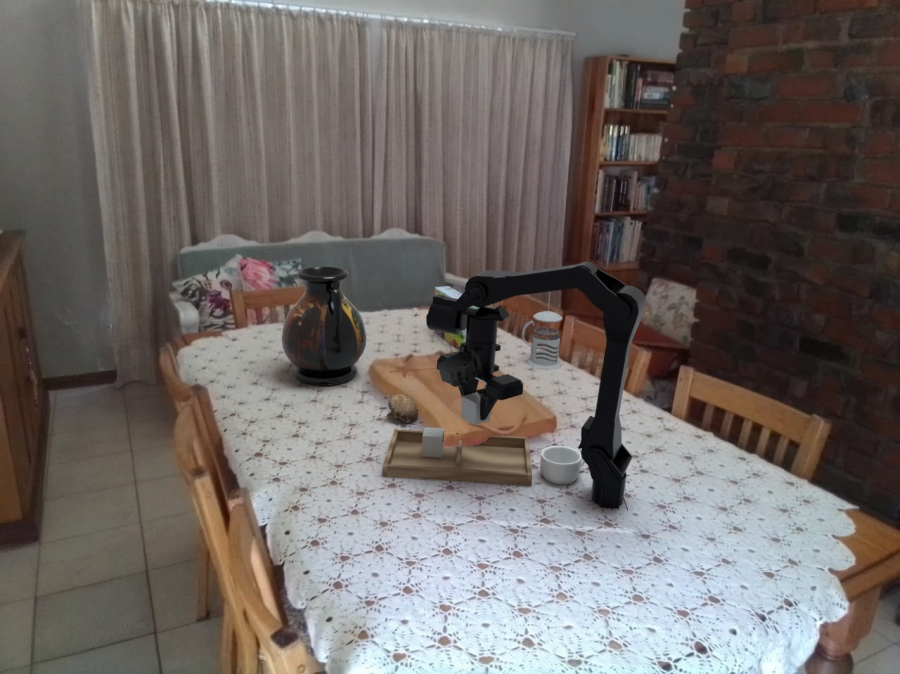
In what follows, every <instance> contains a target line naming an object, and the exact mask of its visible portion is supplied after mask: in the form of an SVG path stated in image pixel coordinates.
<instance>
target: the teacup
mask: <svg viewBox="0 0 900 674" xmlns="http://www.w3.org/2000/svg"><path fill="white" fill-rule="evenodd" d="M585 464H586V463H585V461H584V460H583V459H582V457H581V451H579V450H578V449H575V448H573V447H570V446H565V445H551V446H547V447H545V448H543V449H542V450H541V451H540V472H541V474H542V476H543V478H544V479H545V480H546V481H547V482H550V483H552V484H556V485H568V484H572V483H573V482H575V481H576V480H577V478H578V477H579V473H580V470H581V468H582V467H583V466H584V465H585Z"/></svg>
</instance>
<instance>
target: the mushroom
mask: <svg viewBox="0 0 900 674" xmlns="http://www.w3.org/2000/svg"><path fill="white" fill-rule="evenodd" d="M387 404H388V407H389V409H390V411H388V412H387V414H386V418H387V419H388V420H401V421H402V422H404V423H406V424H413V423H415V422H416V421H418V418H419V413H418V411H419V408H418V409H417V407H418V405H417V404H416V402H415V401H414V400H413V399H411V397H409V396H406V395H405V394H401V393H399V394H395V395H392V396H391V397H390V398H389V399H388V402H387Z"/></svg>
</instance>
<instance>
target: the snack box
mask: <svg viewBox="0 0 900 674" xmlns="http://www.w3.org/2000/svg"><path fill="white" fill-rule="evenodd" d="M438 294H439V295H444V296H446V297H450V298H456V299H458V298H459V297H460V296H461V295H462V294H463V292H462V293H461V292H460V291H458V290H456V289H454V288H453V287H451V286H449V285H445V286H435V287H434V296H436V295H438ZM469 308H473V309H479V307H475V306H471V307H469ZM466 328H467V327H466ZM434 333H435V334H437V335H439V336H440V337H441V338H442V339H444V340H445V341H446V342H447V343H449V344H450V345H452V346H453V347H454V348H456V349H457V350H458V351H459V346H460V345H461V343H464V342H466V329H465V330H464V331H461V332H460V333H459V334H458V335H455V334H450V333H445V332H440V331H435V330H434Z"/></svg>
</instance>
